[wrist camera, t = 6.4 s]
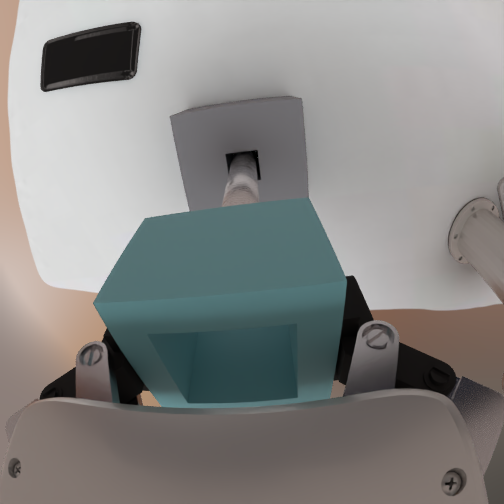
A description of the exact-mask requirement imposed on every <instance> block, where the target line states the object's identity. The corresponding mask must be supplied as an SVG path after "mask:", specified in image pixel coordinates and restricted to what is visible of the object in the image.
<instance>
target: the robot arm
mask: <svg viewBox="0 0 504 504" xmlns="http://www.w3.org/2000/svg"><path fill="white" fill-rule="evenodd" d="M449 250H450V253H451V255H452V256H453V257H454V259H455V260H456V261H458V262H459V263H462V264H468V263H470V264H471V265H472V266H473V267H474V268H475V270H476V271H477V272H478V273H479V274H480V275H481V277H482V278H483V279H484V280H485V281H486V283H487V284H488V285H489V286H490V288H491V289H492V290H493V291H494V293H495V294H496V295H497V296H498V298H499V299H500V300H501V302H502V303H503V304H504V222H503V221H502V220H501V219H500V217H499V211H498V209H497V207H496V205H495V204H494V203H493V202H491V201H490V200H488V199H485V198H479V199H476V200H473V201H472V202H470V203H469V204H467V205H466V206H465V207H464V208H463V209H462V210H461V212H460V213H459V214H458V216H457V217H456V219H455V221H454V223H453V225H452V228H451V231H450V235H449ZM345 277H346V279H347V286H346V296H345V305H344V313H343V321H342V329H341V336H340V343H339V350H338V356H337V362H336V368H335V374H334V380H339V382H340V383H342V384H344V385H346V386H345V390H344V394H343V397H337V398H331V399H324V400H316V401H309V402H301V403H292V404H282V405H271V406H257V407H238V408H173V407H153V406H143V403H142V399H141V395H140V393H142V390H144V391H149V389H148V388H147V387H146V385H145V384H144V382H143V381H142V380H141V378H140V377H139V376H138V374H137V373H136V371H135V370H134V368H133V367H132V366H131V364H130V363H129V361H128V360H127V358H126V357H125V355H124V354H123V352H122V351H121V349H120V348H119V346H118V344H117V343H116V341H115V340H114V338H113V337H112V335H111V333H110V332H109V330H108V328H107V329H106V331H105V334H104V338H103V340H102V342H99V341H94V342H90V343H88V344H86V345H85V346H83V347H82V348H81V349H80V351H79V352H78V354H77V357H76V367H75V368H73V369H72V370H70V371H69V372H67V373H66V374H64V375H63V376H61V377H60V378H58V379H56V380H55V381H54V382H52V383H50V384H49V385H48V386H46V387H45V388H44V390H43V391H42V393H41V395H40V400H38V399H35V400H34V401H33V402H31V403H30V404H28V405H27V406H25V407H24V408H22V409H21V410H19V411H18V412H16V413H15V414H14V415H12V416H11V417H10V418H9V419H8V421H7V423H6V433H7V436H8V441H9V446H8V449H7V452H6V456H5V459H4V463H3V467H2V471H1V476H0V504H488V498H487V493H486V489H485V483H484V479H483V476H484V474H485V471H486V469H487V467H488V464H489V462H490V459H491V457H492V455H493V452H494V449H495V447H496V444H497V441H498V438H499V435H500V432H501V429H502V426H503V423H504V396H503V395H502V394H500V393H499V392H497V391H495V390H492V389H490V388H488V387H486V386H483V385H481V384H479V383H477V382H474V381H472V380H470V379H468V378H466V377H463V376H462V377H461V379H460V378H458V377H456V375H455V372H454V370H453V369H452V368H451V367H450V366H449V365H448V364H446V363H445V362H442V361H440V360H438V359H436V358H434V357H431V356H429V355H427V354H425V353H422V352H420V351H418V350H416V349H413V348H411V347H409V346H407V345H405V344H402V343H400V342H399V334H398V332H397V330H396V329H395V328H394V327H393V326H392V325H391V324H389V323H387V322H384V321H375V320H373V317H372V315H371V313H370V310H369V308H368V306H367V303H366V301H365V299H364V297H363V294H362V292H361V290H360V288H359V285H358V283H357V281H356V279H355V277H354V276H345ZM501 383H502V390H503V393H504V373H503V375H502V381H501Z"/></svg>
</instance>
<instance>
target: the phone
mask: <svg viewBox="0 0 504 504" xmlns="http://www.w3.org/2000/svg"><path fill="white" fill-rule="evenodd" d="M140 35H141V26H140V25H139V24H138V23H136V22H127V23H120V24H114V25H108V26H103V27H98V28H93V29H89V30H84V31H80V32H76V33H72V34H68V35H65V36H61V37H58V38H54V39H51V40H49V41H47V42H46V43H45V45H44V47H43V54H42V66H41V90H42V91H44V92H47V91H52V90H57V89H62V88H68V87H74V86H80V85H86V84H93V83H101V82H109V81H119V80H129V79H131V78H133V77H134V76H135V74H136V72H137V63H138V53H139V44H140Z"/></svg>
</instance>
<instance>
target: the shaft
mask: <svg viewBox="0 0 504 504" xmlns="http://www.w3.org/2000/svg"><path fill="white" fill-rule="evenodd" d="M251 203H259V192H258V180H257V169H256V159H255V156H254V155H253V154H252V153H251V152H249V151H243V152H237V153H235V154H234V156H233V158H232V162H231V166H230V171H229V175H228V180H227V184H226V189H225V193H224V198H223V203H222V207H226V206H234V205H242V204H251Z"/></svg>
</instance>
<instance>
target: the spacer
mask: <svg viewBox="0 0 504 504" xmlns="http://www.w3.org/2000/svg"><path fill="white" fill-rule="evenodd" d="M346 286H347V279H346V277H345V275H344V272H343V270H342V268H341V265H340V263H339V261H338V259H337V256H336V254H335V252H334V250H333V248H332V245H331V243H330V241H329V239H328V237H327V234H326V232H325V230H324V228H323V226H322V224H321V222H320V220H319V218H318V215H317V213H316V211H315V209H314V207H313V205H312V203H311V201H310V199H309V197H307V198H297V199H287V200H277V201H268V202H259V203H251V204H242V205H234V206H226V207H219V208H211V209H204V210H197V211H190V212H183V213H176V214H170V215H163V216H157V217H151V218H145V219H144V221H143V222H142V224H141V225H140V227H139V228H138V230H137V231H136V233H135V234H134V236H133V237H132V239H131V240H130V242H129V244H128V245H127V247H126V248H125V250H124V251H123V253H122V255H121V256H120V258H119V259H118V261H117V263H116V264H115V266H114V268H113V269H112V271H111V273H110V274H109V276H108V278H107V279H106V281H105V283H104V285H103V286H102V288H101V290H100V292H99V293H98V295H97V297H96V299H95V301H94V302H93V304H94V306H95V308H96V309H97V311H98V313H99V315H100V316H101V318H102V320H103V321H104V323H105V325H106V327H107V328H108V330H109V332H110V333H111V335H112V337H113V338H114V340H115V341H116V343H117V344H118V346H119V348H120V349H121V351H122V352H123V354H124V355H125V357H126V358H127V360H128V361H129V363H130V364H131V366H132V367H133V368H134V370H135V371H136V373H137V374H138V376H139V377H140V378H141V380H142V381H143V382H144V384H145V385H146V387H147V388H148V389H149V391H150V392H151V393H152V394H153V396H154V397H155V398H156V400H157V401H158V402H159V404H160V405H161V406H162V407H173V408H238V407H257V406H271V405H282V404H292V403H301V402H309V401H316V400H324V399H330V395H331V390H332V384H333V379H334V374H335V368H336V362H337V356H338V350H339V343H340V336H341V329H342V321H343V313H344V305H345V296H346Z"/></svg>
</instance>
